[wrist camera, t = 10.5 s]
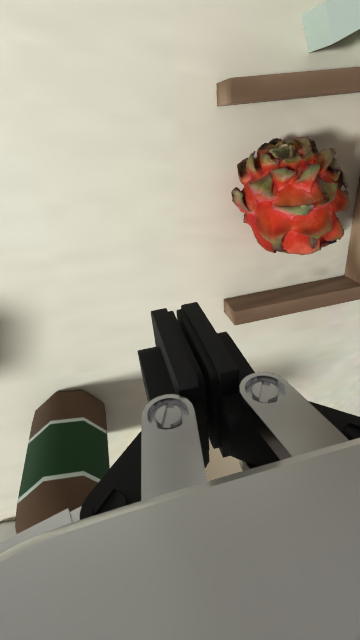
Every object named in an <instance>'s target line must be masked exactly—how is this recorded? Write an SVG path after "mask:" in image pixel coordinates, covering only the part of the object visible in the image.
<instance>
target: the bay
mask: <svg viewBox="0 0 360 640" xmlns="http://www.w3.org/2000/svg"><path fill="white" fill-rule="evenodd" d="M357 92H360V67H352V68H340V69H329V70H317V71H306V72H294V73H282V74H271V75H259V76H248V77H236V78H229V79H227V80H224V81H222V82H219V83H217V106H227V105H237V104H247V103H257V102H267V101H277V100H287V99H297V98H307V97H317V96H327V95H337V94H347V93H357ZM359 299H360V178H359V184H358V191H357V197H356V204H355V210H354V217H353V223H352V230H351V236H350V243H349V249H348V256H347V262H346V269H345V275H344V276H340V277H335V278H330V279H325V280H320V281H315V282H309V283H304V284H299V285H294V286H289V287H284V288H279V289H274V290H269V291H263V292H258V293H253V294H248V295H243V296H238V297H233V298H228V299H224V312H225V314H226V315H227V316H228V317H229V319H230V320H231V321H232V322H233V324H234V325H239V324H244V323H249V322H254V321H259V320H263V319H268V318H273V317H278V316H282V315H287V314H292V313H297V312H301V311H306V310H311V309H316V308H321V307H325V306H330V305H335V304H340V303H344V302H349V301H354V300H359Z"/></svg>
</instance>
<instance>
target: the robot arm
mask: <svg viewBox="0 0 360 640" xmlns="http://www.w3.org/2000/svg"><path fill="white" fill-rule="evenodd" d="M151 317H152V324H153V330H154V337H155V343H156V347H153V348H148V349H143V350H139V351H138V355H139V361H140V366H141V371H142V376H143V381H144V386H145V390H146V394H147V399H148V404H146V406H145V408H144V409H143V412H142V431H141V432H140V433H139V434H138V435H137V437H136V438H135V439H134V440H133V441H132V443H131V444H130V445H129V446H128V447H127V449H126V450H125V451H124V452H123V453H122V455H121V456H120V457H119V458H118V460H117V461H116V462H115V463H114V464H113V466H112V467H111V468H110V469H109V470H108V472H107V473H106V474H105V475H104V476H103V478H102V479H101V480H100V481H99V482H98V484H97V485H96V486H95V487H94V488H93V490H92V491H91V492H90V493H89V494H88V496H87V497H86V499H85V501H84V502H83V504H82V506H81V507H79V508H77V509H75V510H73V511H71V512H69V509H68V508H67V509H66V510H64V511H62V512H60V513H58V514H56V515H54V516H52V517H50V518H48V519H46V520H44V521H42V522H40V523H38V524H36V525H34V526H32V527H30V528H28V529H26V530H24V531H22V532H20V533H18V534H16V535H14V536H12V537H11V538H9V539H7V540H5V541H3V542H1V543H0V640H360V417H358V416H355V415H352V414H348V413H345V412H342V411H339V410H335V409H332V408H329V407H326V406H322V405H319V404H316V403H313V402H309V401H307V400H306V399H305V398H304V397H303V396H302V395H301V394H300V393H299V392H298V391H297V390H296V389H294V388H293V387H292V386H291V385H290V384H289V383H288V382H287V381H286V380H285V379H283V378H282V377H280V376H278V375H276V374H273V373H267V372H257V373H255V372H254V371H253V369H252V368H251V366H250V365H249V363H248V362H247V360H246V359H245V357H244V356H243V355H242V353H241V352H240V350H239V349H238V347H237V346H236V344H235V343H234V341H233V340H232V339H231V337H230V336H229V334H228V333H227V332H222V333H216V331H215V330H214V328H213V326H212V325H211V323H210V322H209V320H208V319H207V317H206V315H205V314H204V312H203V311H202V309H201V308H200V306H199V304H198V303H197V302H194V303H189V304H184V305H182V306H181V309H179V310H177V319H176V317H175V314H174V312H173V311H169V312H168V311H167V309H166V308H164V309H159V310H154V311H151ZM209 439H210V442H211V444H212V446H213V448H214V449H215V448H219V449H220V451H221V454H222V456H223V457H227V456H232V457H235V458H237V459H239V460H240V466H241V468H242V470H243V471H242V472H238V473H235V474H232V475H228V476H225V477H221V478H218V479H214V480H211V481H207V479H206V473H205V468H206V466H207V464H208V463H209Z"/></svg>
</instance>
